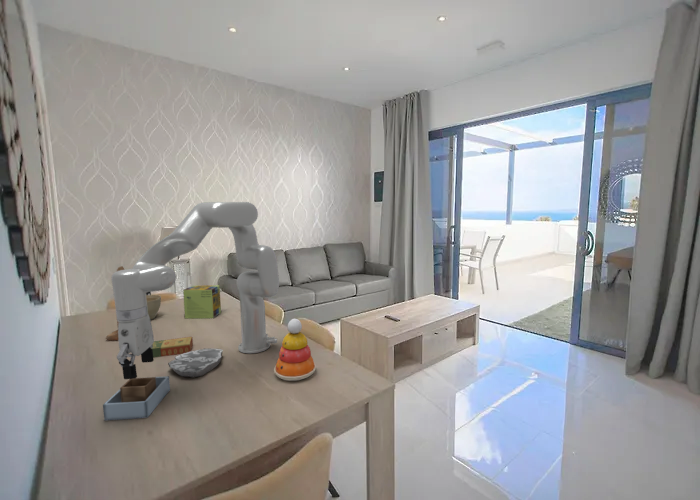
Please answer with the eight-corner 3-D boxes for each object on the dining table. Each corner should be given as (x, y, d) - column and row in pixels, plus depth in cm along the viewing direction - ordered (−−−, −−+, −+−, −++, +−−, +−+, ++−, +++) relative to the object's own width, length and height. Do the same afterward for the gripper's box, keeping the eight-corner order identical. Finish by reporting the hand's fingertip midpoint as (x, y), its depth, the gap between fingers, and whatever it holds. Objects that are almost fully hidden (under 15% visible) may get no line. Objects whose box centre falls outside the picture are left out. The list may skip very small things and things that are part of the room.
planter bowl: (153, 312, 188) (152, 293, 187) (168, 317, 179) (166, 297, 178) (121, 320, 176) (119, 299, 174) (134, 326, 166) (132, 304, 165)
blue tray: (170, 389, 107) (169, 376, 106) (147, 417, 92) (146, 402, 92) (133, 391, 106) (131, 378, 105) (104, 420, 91) (102, 404, 91)
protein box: (213, 318, 177) (212, 289, 175) (184, 318, 177) (182, 289, 175) (221, 312, 187) (220, 285, 185) (193, 312, 187) (192, 285, 186)
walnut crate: (156, 395, 102) (155, 377, 101) (148, 406, 97) (146, 386, 96) (132, 397, 101) (130, 378, 101) (122, 408, 96) (120, 388, 95)
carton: (190, 353, 134) (190, 343, 134) (144, 359, 129) (143, 349, 129) (193, 345, 142) (192, 335, 142) (149, 351, 137) (148, 340, 137)
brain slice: (186, 355, 132) (186, 348, 132) (229, 355, 132) (229, 348, 132) (156, 380, 113) (156, 372, 113) (207, 381, 113) (206, 372, 112)
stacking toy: (270, 368, 121) (268, 315, 118) (309, 361, 126) (308, 310, 124) (278, 387, 108) (276, 327, 105) (321, 378, 113) (320, 321, 111)
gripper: (130, 323, 88) (137, 384, 90) (160, 303, 105) (166, 355, 107) (99, 325, 87) (107, 387, 90) (134, 304, 104) (141, 357, 107)
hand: (139, 369), depth 98 cm, fingers open, 9 cm apart
